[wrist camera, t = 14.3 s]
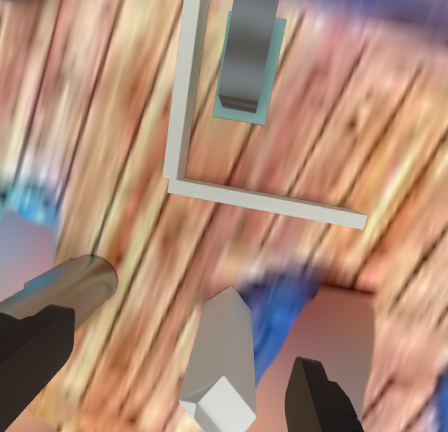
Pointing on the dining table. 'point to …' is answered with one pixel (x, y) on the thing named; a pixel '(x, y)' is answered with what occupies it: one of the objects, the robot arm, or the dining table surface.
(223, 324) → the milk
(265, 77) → the pad
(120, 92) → the dining table surface
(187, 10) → the arena
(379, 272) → the dining table surface
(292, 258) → the dining table surface
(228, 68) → the bar
